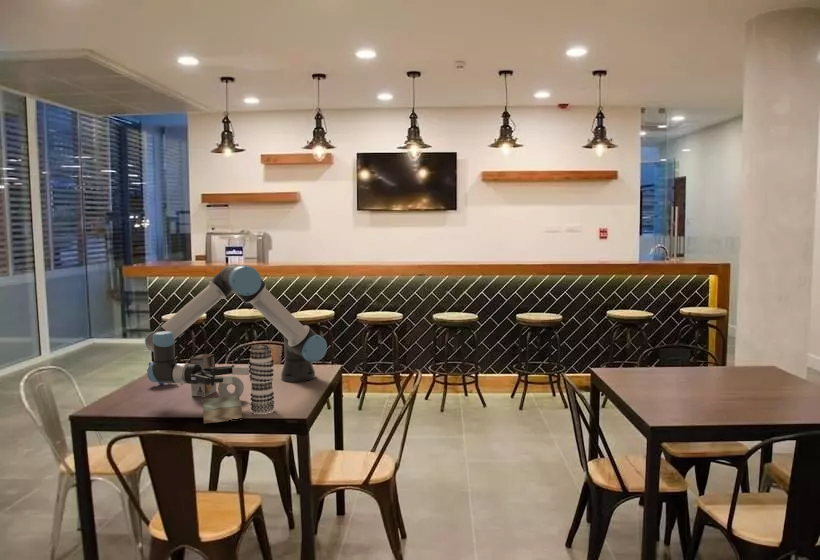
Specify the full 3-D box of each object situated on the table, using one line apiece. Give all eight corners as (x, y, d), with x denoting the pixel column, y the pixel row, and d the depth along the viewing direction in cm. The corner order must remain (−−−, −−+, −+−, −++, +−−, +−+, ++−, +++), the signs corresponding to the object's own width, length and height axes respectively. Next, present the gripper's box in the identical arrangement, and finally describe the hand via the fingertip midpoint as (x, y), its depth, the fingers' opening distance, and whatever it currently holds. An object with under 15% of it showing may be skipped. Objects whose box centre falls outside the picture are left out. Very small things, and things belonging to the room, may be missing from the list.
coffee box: (202, 391, 263) (201, 353, 262) (216, 391, 262) (215, 354, 260) (191, 397, 254) (189, 358, 253) (205, 397, 253) (203, 358, 252)
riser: (239, 408, 237) (238, 395, 236) (242, 419, 223) (241, 405, 223) (203, 412, 232) (202, 399, 232) (203, 423, 219) (203, 409, 219)
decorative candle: (273, 414, 228) (271, 347, 226) (247, 415, 228) (245, 347, 226) (277, 407, 237) (275, 342, 235) (252, 408, 237) (250, 343, 235)
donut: (217, 402, 246) (216, 377, 245) (218, 400, 249) (217, 375, 248) (244, 400, 247) (243, 376, 247) (244, 398, 251) (243, 374, 250)
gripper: (205, 375, 249) (255, 377, 245) (170, 392, 225) (225, 394, 221) (204, 357, 249) (254, 358, 245) (169, 371, 224) (224, 373, 220)
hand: (240, 375), depth 233 cm, fingers open, 13 cm apart
